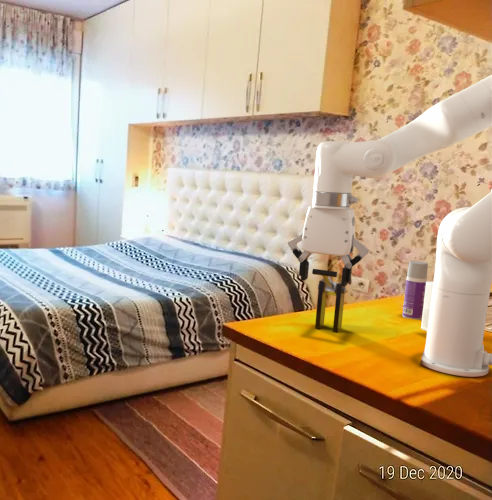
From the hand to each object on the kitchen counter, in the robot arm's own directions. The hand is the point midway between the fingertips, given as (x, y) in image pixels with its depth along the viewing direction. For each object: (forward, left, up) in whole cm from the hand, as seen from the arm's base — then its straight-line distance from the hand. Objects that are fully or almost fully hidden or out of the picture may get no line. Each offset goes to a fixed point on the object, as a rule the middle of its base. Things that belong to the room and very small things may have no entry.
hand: (323, 282), depth 110 cm
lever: (0, -4, -2) cm, 4 cm away
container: (-15, -39, -14) cm, 44 cm away
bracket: (0, -9, -14) cm, 16 cm away
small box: (-23, -24, -14) cm, 36 cm away
